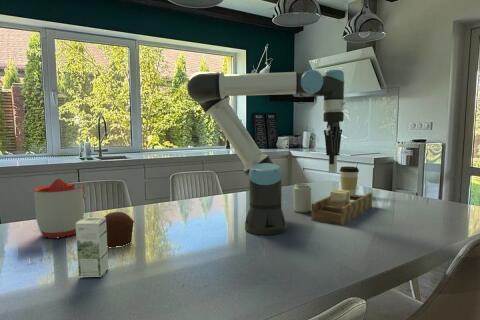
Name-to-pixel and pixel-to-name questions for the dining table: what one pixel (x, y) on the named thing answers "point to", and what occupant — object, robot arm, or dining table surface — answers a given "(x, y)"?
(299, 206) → the can
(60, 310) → the dining table surface
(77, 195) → the citrus juicer
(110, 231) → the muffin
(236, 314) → the dining table surface
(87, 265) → the syrup box
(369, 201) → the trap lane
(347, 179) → the coffee cup
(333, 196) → the maple block
